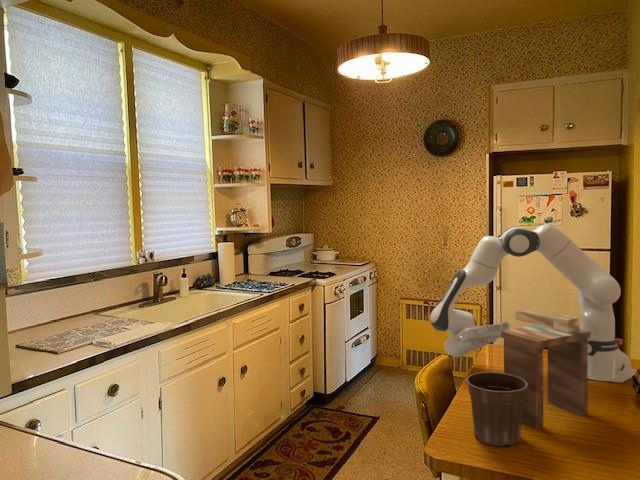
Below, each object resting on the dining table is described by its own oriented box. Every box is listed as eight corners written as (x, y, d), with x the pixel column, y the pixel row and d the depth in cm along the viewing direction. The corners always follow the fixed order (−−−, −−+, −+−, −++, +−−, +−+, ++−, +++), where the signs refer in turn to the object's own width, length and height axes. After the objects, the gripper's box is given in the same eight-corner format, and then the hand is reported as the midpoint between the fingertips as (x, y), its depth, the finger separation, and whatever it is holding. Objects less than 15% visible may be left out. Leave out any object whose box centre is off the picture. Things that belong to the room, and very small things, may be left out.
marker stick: (524, 317, 168) (523, 306, 168) (579, 330, 149) (579, 317, 149) (513, 319, 166) (513, 308, 166) (567, 333, 147) (567, 319, 146)
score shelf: (551, 399, 162) (551, 322, 161) (590, 415, 150) (590, 331, 148) (501, 413, 153) (501, 331, 152) (538, 430, 140) (538, 341, 139)
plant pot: (474, 420, 149) (473, 368, 148) (531, 430, 141) (531, 376, 140) (460, 443, 135) (459, 385, 134) (523, 456, 127) (523, 395, 126)
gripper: (449, 332, 184) (472, 320, 173) (491, 326, 193) (515, 314, 181) (455, 349, 182) (478, 338, 170) (497, 341, 190) (521, 330, 179)
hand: (497, 325), depth 176 cm, fingers open, 8 cm apart
